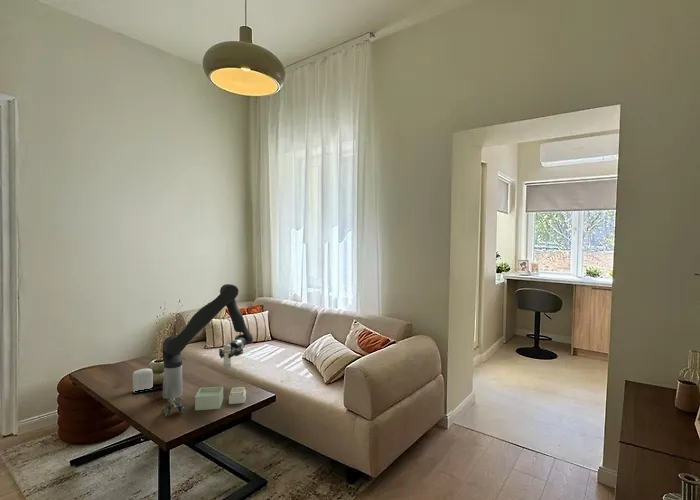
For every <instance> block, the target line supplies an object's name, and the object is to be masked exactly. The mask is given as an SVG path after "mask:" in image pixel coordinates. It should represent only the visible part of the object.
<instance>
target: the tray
mask: <svg viewBox="0 0 700 500" xmlns="http://www.w3.org/2000/svg"><path fill="white" fill-rule="evenodd" d="M223 400H224V386H212V387H211V386H209V387H199V389H198V391H197V393H196V395H195V396H194V411H206V410H219V409H221V406H222V403H223Z"/></svg>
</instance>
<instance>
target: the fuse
mask: <svg viewBox="0 0 700 500" xmlns="http://www.w3.org/2000/svg"><path fill="white" fill-rule="evenodd" d="M229 344H230V343H228V344H227V343H226V344H224V345H223V346H222V347H223V348H222V350H224V357H223V365H222V366H223V369H225V370H226V369H230V368H232V362H231V361H232V359H231V358H232V357H231V358H229V353H231V345H229Z"/></svg>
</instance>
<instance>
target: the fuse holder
mask: <svg viewBox="0 0 700 500" xmlns="http://www.w3.org/2000/svg"><path fill="white" fill-rule="evenodd" d="M246 398H247V389H246V388H245V386H243V387H242V386H240V387H239V386H238V387H232V388H231V389H230V393H229V395H228V404H229V405H233V404H234V405H235V404H236V405H237V404H245V402H246Z"/></svg>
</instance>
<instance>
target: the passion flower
mask: <svg viewBox="0 0 700 500" xmlns="http://www.w3.org/2000/svg"><path fill="white" fill-rule="evenodd" d="M178 397H179V398H178V400H177V399H175V398H172V397H171V398H170V397H168V398H167V397H166V399H165V400H167V402H168V403H167V404H165V405H164V406H162V407H160V405H157V406H156V409H157V410H159V409H161V410H160V416H161V415H162V414H163V413H164V412H165V414H164V418H166V417H167V416H168V415H169V413H170V411H171V410H172V409H175V408H176V409H178V412H179V414H183V412H185V409H184V408H185V406H184V405H183V404H182V403H181V402H180V401H184V400H185V399H184V398H183V396H181V397H180V396H178Z"/></svg>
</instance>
